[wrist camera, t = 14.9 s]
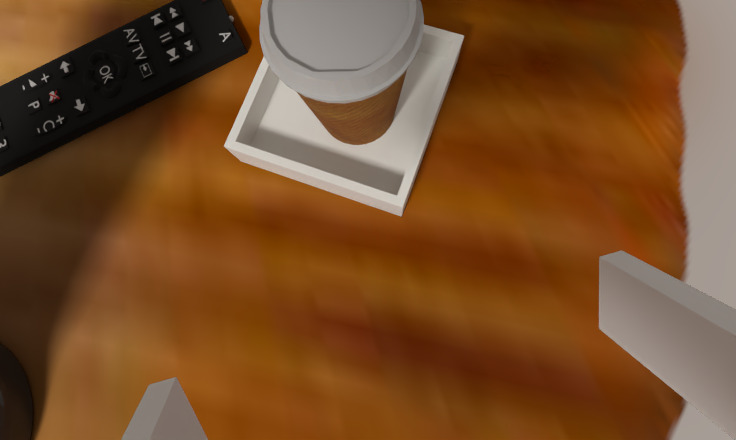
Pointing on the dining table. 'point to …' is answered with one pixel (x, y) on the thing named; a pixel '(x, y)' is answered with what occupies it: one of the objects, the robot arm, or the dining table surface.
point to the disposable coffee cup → (344, 58)
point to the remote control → (113, 77)
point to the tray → (340, 160)
